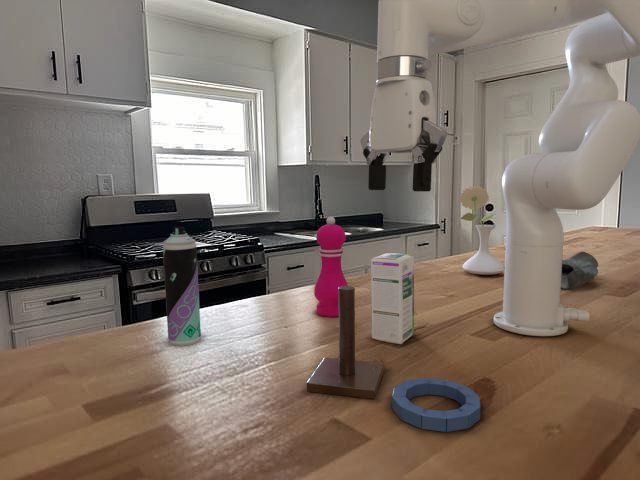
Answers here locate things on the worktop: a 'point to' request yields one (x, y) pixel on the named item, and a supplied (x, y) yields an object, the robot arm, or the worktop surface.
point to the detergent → (578, 270)
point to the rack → (346, 360)
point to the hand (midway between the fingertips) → (398, 190)
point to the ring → (433, 418)
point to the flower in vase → (480, 234)
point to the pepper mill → (330, 268)
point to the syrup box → (392, 297)
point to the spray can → (181, 288)
